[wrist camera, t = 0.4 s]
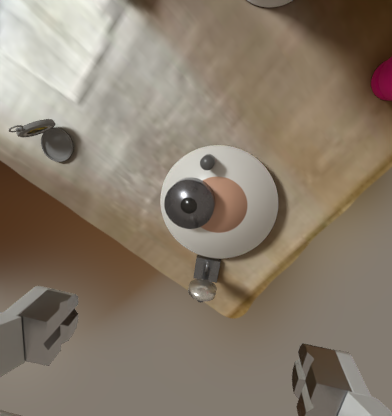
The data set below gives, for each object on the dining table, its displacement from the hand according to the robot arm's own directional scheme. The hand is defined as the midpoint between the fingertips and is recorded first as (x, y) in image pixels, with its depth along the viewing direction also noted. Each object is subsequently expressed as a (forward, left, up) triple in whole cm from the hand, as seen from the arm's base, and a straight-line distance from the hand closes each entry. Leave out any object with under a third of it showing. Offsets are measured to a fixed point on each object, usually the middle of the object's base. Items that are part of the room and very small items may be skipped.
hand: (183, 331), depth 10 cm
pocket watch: (+1, -35, -45) cm, 57 cm away
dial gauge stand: (+23, -1, -45) cm, 51 cm away
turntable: (+8, -1, -45) cm, 46 cm away
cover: (+8, -6, -42) cm, 43 cm away
